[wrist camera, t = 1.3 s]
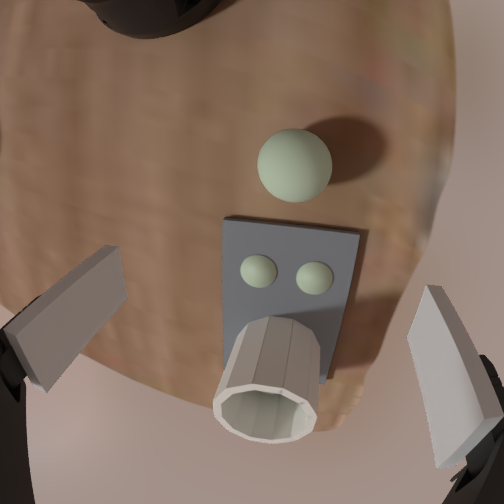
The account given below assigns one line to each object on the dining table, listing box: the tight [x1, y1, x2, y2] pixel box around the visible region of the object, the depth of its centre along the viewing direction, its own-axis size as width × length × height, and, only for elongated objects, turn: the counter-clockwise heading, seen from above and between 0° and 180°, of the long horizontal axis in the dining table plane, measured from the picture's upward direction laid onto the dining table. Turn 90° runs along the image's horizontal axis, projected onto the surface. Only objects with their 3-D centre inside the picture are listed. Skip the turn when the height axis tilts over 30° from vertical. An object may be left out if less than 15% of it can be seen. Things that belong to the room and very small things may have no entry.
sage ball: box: [257, 129, 332, 202], centre depth 24 cm, size 6×6×6 cm
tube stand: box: [213, 217, 360, 444], centre depth 28 cm, size 20×13×11 cm, turn 178°
